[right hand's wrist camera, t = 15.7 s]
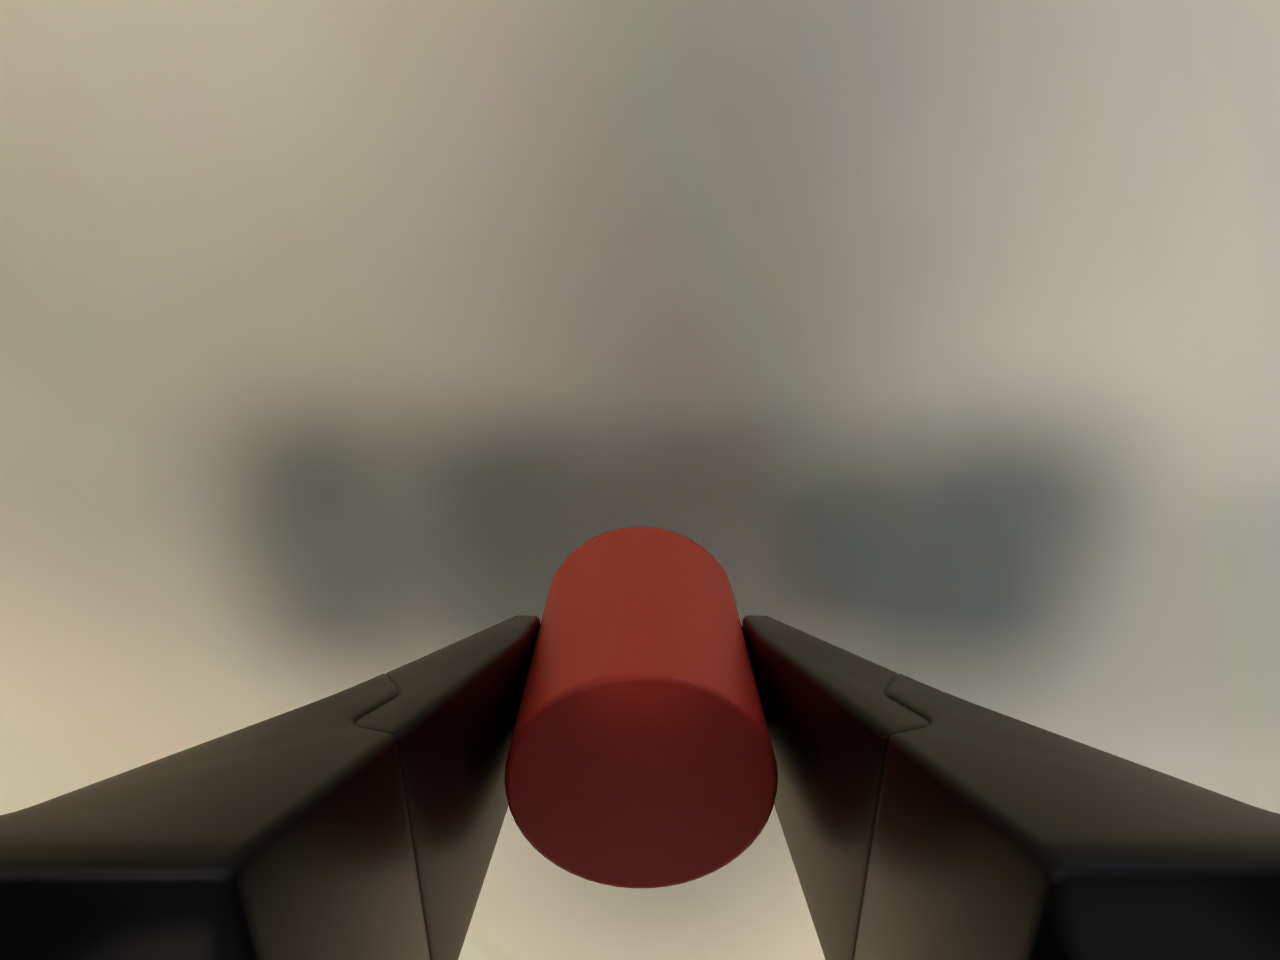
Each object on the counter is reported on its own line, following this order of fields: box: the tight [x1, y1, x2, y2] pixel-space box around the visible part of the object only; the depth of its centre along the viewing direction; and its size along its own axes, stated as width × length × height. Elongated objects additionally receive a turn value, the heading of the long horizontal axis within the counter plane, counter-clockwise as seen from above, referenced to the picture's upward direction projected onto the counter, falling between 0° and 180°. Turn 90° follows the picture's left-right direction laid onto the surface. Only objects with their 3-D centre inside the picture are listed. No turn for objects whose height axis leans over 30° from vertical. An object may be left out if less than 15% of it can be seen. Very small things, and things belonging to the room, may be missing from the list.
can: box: [504, 527, 778, 888], centre depth 10 cm, size 4×4×4 cm
